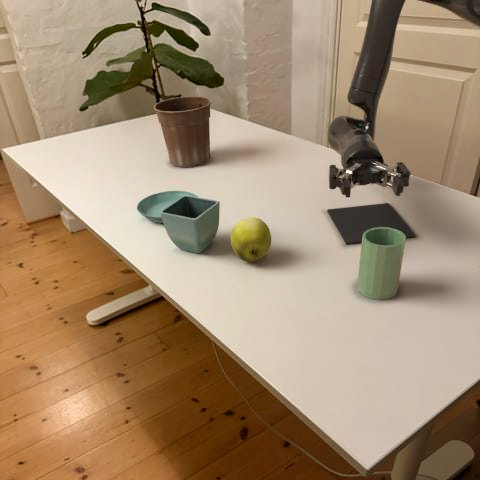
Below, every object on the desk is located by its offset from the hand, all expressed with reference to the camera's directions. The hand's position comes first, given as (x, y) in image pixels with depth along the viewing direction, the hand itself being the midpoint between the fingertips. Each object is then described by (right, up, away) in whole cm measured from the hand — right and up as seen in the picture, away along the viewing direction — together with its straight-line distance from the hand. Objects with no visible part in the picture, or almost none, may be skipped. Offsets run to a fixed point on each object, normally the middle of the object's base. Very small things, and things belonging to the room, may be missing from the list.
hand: (373, 191), depth 80 cm
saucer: (-40, +3, +30) cm, 50 cm away
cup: (0, -17, -1) cm, 17 cm away
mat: (+4, -2, +18) cm, 19 cm away
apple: (-21, -10, +11) cm, 26 cm away
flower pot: (-32, -7, +16) cm, 37 cm away
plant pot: (-38, +25, +58) cm, 74 cm away
